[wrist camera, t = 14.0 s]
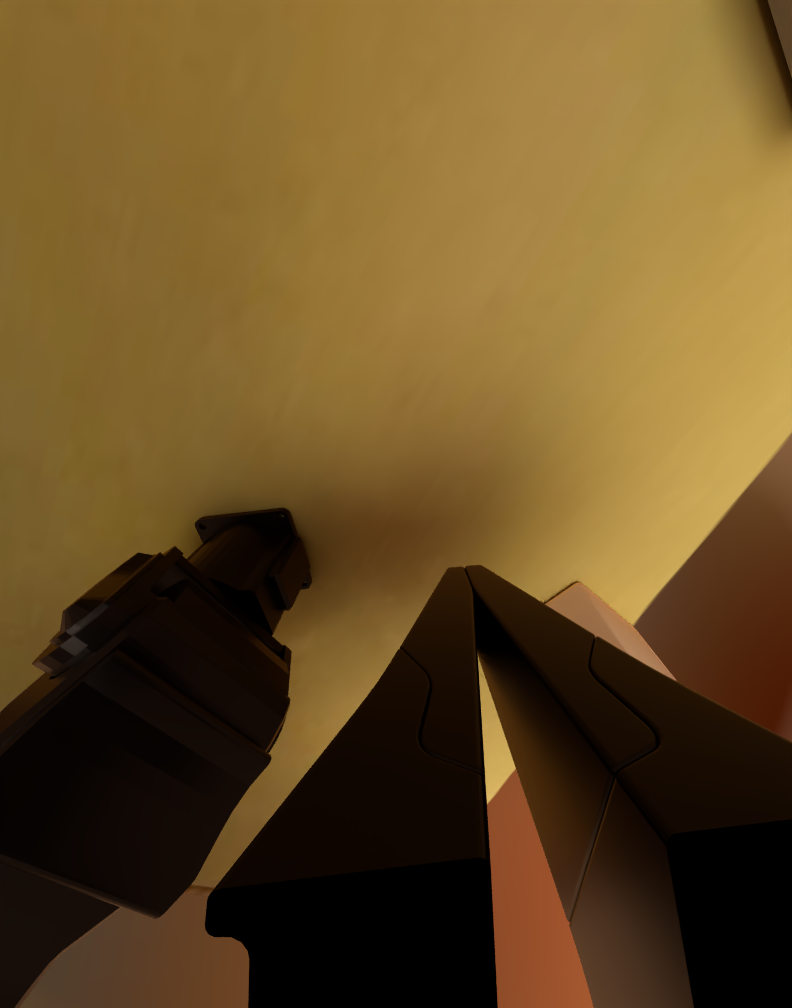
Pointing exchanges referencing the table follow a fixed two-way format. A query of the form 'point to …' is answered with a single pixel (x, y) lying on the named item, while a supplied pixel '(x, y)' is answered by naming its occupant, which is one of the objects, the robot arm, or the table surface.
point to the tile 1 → (783, 26)
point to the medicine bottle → (605, 624)
